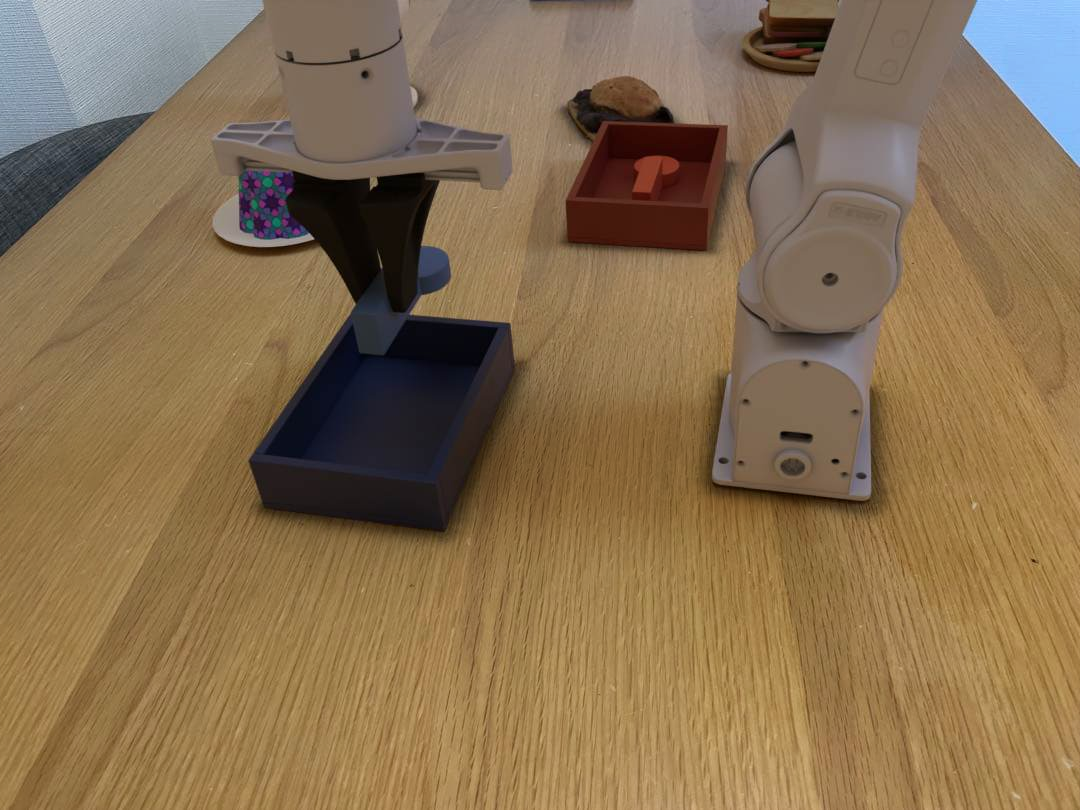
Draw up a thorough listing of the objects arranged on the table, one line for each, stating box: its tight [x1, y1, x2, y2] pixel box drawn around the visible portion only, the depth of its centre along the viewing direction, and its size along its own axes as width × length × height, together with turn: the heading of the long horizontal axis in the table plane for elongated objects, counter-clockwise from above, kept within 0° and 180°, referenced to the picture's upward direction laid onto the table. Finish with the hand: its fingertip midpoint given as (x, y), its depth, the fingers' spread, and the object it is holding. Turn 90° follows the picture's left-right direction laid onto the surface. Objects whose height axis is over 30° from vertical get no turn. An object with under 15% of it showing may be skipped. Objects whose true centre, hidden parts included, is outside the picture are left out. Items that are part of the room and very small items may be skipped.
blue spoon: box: [350, 245, 452, 355], centre depth 54 cm, size 9×4×3 cm, turn 166°
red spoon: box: [632, 156, 680, 201], centre depth 76 cm, size 9×4×3 cm, turn 166°
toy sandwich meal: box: [741, 0, 840, 73], centre depth 99 cm, size 12×14×5 cm
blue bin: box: [247, 312, 516, 532], centre depth 56 cm, size 14×10×3 cm
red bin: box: [565, 121, 729, 251], centre depth 76 cm, size 14×10×3 cm
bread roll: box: [566, 75, 675, 142], centre depth 88 cm, size 11×8×4 cm
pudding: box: [211, 170, 315, 248], centre depth 77 cm, size 12×12×5 cm
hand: (388, 301), depth 52 cm, fingers closed on blue spoon
